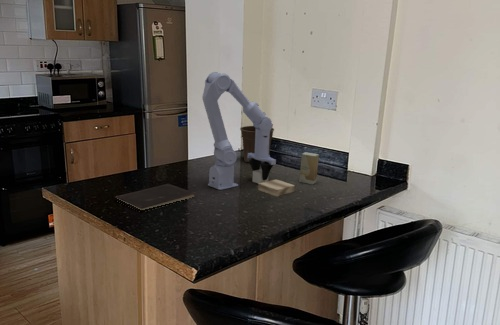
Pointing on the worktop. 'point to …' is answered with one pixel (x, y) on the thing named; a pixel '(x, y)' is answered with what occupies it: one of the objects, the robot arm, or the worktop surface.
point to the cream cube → (258, 176)
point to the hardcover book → (156, 196)
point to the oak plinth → (276, 187)
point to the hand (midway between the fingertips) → (260, 178)
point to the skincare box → (309, 168)
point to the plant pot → (251, 140)
